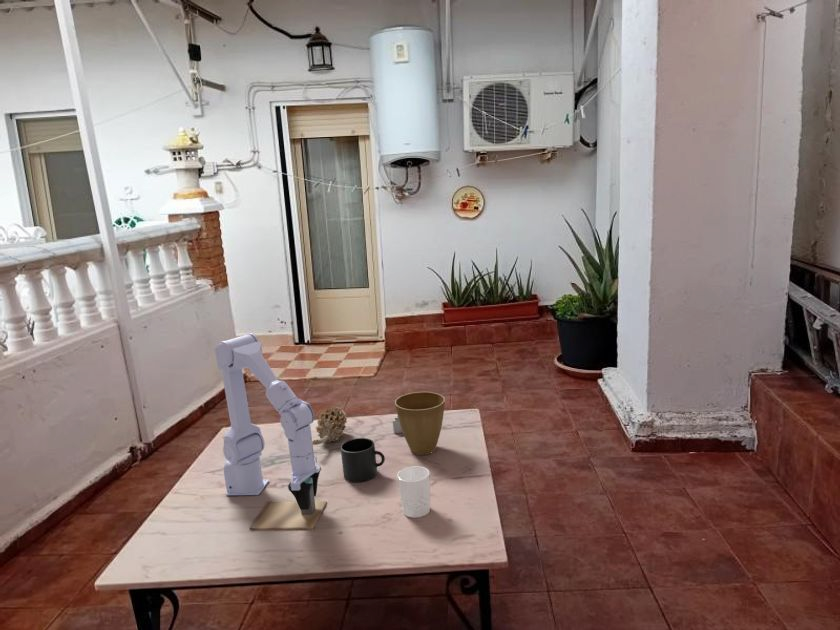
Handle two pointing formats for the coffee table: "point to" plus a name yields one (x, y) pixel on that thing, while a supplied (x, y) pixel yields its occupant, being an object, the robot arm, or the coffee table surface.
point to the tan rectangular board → (286, 516)
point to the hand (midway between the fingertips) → (308, 502)
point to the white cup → (414, 491)
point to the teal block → (312, 501)
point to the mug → (360, 459)
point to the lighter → (397, 426)
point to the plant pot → (421, 420)
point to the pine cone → (330, 425)
